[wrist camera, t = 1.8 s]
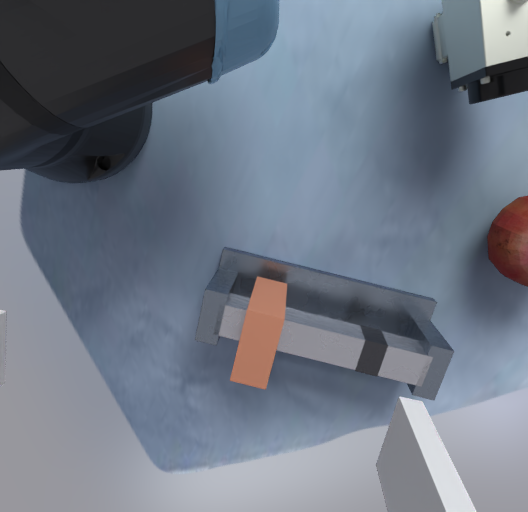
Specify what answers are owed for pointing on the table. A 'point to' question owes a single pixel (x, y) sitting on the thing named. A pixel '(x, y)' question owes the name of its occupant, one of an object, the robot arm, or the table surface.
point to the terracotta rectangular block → (260, 333)
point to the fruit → (511, 241)
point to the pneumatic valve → (484, 46)
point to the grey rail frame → (333, 320)
